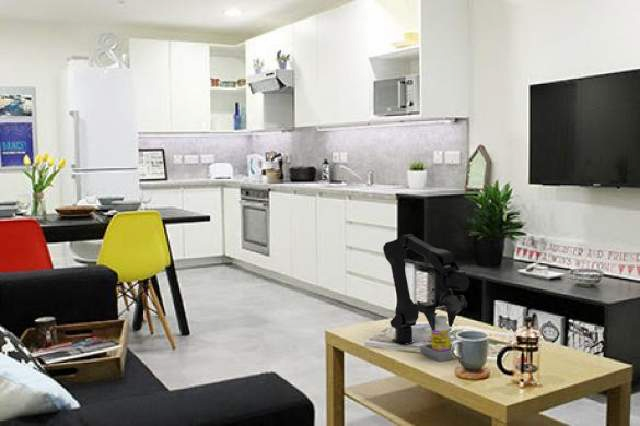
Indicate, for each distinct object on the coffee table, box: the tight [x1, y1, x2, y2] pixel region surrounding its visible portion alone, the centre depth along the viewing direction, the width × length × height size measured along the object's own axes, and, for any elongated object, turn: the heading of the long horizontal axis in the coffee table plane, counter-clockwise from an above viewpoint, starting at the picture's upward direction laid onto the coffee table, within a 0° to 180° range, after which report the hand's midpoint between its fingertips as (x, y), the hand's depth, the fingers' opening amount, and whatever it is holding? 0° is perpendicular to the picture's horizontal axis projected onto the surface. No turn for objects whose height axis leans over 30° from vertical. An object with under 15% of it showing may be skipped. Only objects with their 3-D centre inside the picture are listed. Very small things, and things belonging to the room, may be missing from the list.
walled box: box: [419, 342, 456, 363], centre depth 246 cm, size 11×11×3 cm
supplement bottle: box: [430, 315, 452, 353], centre depth 246 cm, size 7×7×13 cm
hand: (441, 328), depth 245 cm, fingers open, 8 cm apart
